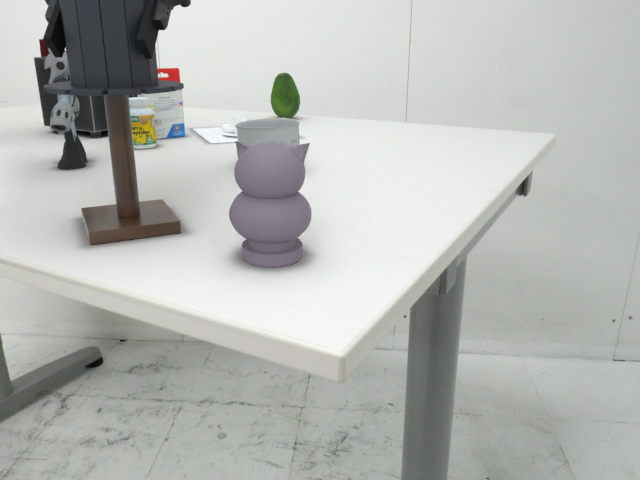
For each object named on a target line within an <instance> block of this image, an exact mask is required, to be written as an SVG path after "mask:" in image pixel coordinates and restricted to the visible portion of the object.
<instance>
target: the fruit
mask: <svg viewBox="0 0 640 480" xmlns="http://www.w3.org/2000/svg"><path fill="white" fill-rule="evenodd" d="M298 89H299V88H298V87H297V85H296V82H295V80H294V77H292V75H291V74H290V73H288V72H280V73H278V74H277V75H276V76H275V78H274V81H273V84H272V87H271V93H270V105H271V108H272V111H273V112H274V114H275V115H276V116H277V118H289V119H293V118H294V117H295V116H296V115H297V114H298V112H299V110H300V106H301V96H300V92H299V90H298Z"/></svg>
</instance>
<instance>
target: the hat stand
mask: <svg viewBox="0 0 640 480" xmlns="http://www.w3.org/2000/svg"><path fill="white" fill-rule="evenodd" d="M104 102H105V111H106V119H107V128H108V130H107V136H108V144H109V145H108V146H109V152H110V153H109V154H110V162H111V169H112V180H113V187H114V188H113V189H114V196H115V197H114V198H115V204H114V203H113V204H106V205H96V206H88V207H87V206H86V207H81V208H80V210H81V211H80V212H81V219H82V222H83V226H84V229H85V233H86V237H87V240H88V243H89V246H93V245H100V244H101V245H102V244H107V243H114V242H122V241H124V242H125V241H131V240H137V239H145V238H153V237H160V236H168V235H174V234H176V235H177V234H181V233H182V229H181V220H180V219H179V218H178V216H177V215H176V214H175V213H174V212H173V210H172V209H171V208H170V206H169V205H168V204H167V203H166V202H165V200H164V199H163V198H161V199H152V200H151V199H150V200H143V201H140V196H139V187H138V177H137V167H136V166H137V165H136V157H135V156H136V155H135V148H134V146H133V136H132V126H131V116H130V106H129V96H128V95H115V96H109V95H104Z"/></svg>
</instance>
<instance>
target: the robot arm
mask: <svg viewBox="0 0 640 480" xmlns="http://www.w3.org/2000/svg"><path fill="white" fill-rule="evenodd" d="M44 2H45V3H46V6H47V9H46V11H45V13H44V17H45V20H46V22H47V25H46V29H45V32H44V34H43V37H42V39H44V41H45V42H46V44H47V45H48V47H49V48H50V50H51V52H52V53H53V55H54V56H55V57H56V58H62V57H63V54H64V51H66V46H65V39H64V31H63V24H62V17H61V10H60V2H59V0H44ZM191 4H192V0H147V1H146V5H145V8H144V12H143V16H142V20H141V24H140V28H139V32H138V36H137V39H136V40H137V42H138V44H139V46H140V48H141V51H142V53H143V55H144V57H145V59H152V57H153V53H154V49H155V48H156V43H157V40H158V36H159V31H166V29H168V26H169V22H170V17H171V14H172V11H173V10H174V8H175V7H177V6H180V7H181V8H188V7H190V6H191Z"/></svg>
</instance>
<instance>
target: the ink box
mask: <svg viewBox="0 0 640 480" xmlns="http://www.w3.org/2000/svg"><path fill="white" fill-rule="evenodd" d="M157 71H158V75H160V74H163V75H167V76H158V80H169V81H177V82H180V83H182V82H181V75H180V68H179V67H161V68H158V67H157ZM137 97H147V98H149V103H150V104H149V106H148V108H151V109H152V110H153V112H154V119H155V129H156V140H160V139H161V140H162V139H170V138H181V137H185V136H186V127H185V112H184V100H183V89H180V90H177V91H171V92H164V93H154V94H141V95H137Z"/></svg>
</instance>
